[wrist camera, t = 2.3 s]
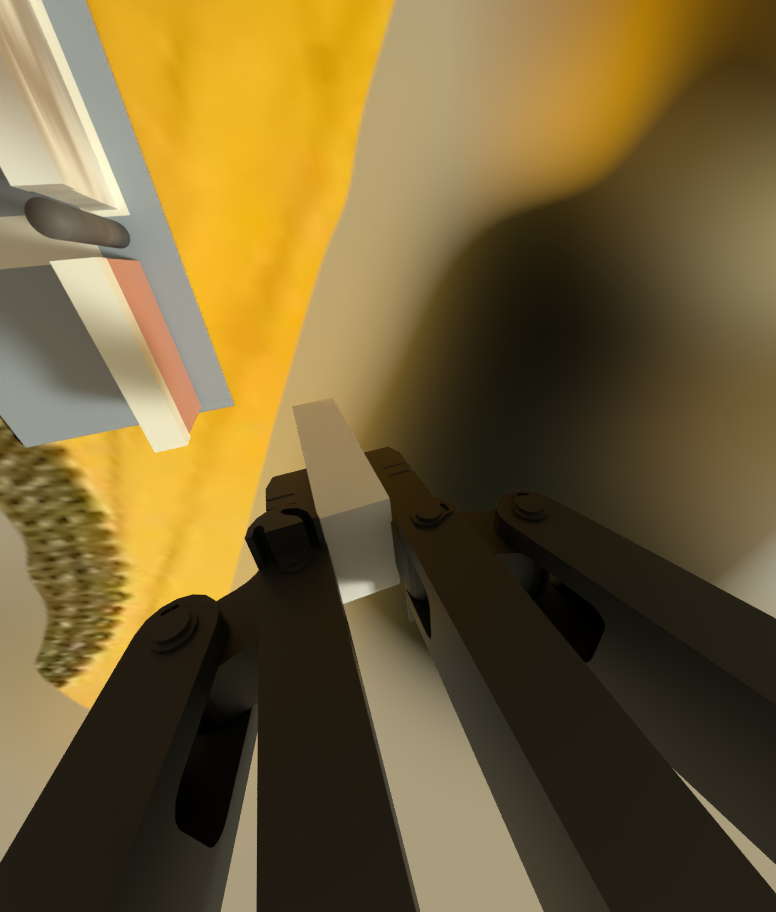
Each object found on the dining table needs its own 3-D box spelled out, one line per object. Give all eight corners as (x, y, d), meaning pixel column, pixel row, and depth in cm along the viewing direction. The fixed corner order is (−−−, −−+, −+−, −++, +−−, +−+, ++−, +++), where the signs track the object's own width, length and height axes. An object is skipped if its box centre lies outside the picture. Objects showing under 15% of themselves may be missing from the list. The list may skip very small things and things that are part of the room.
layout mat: (-392, -92, 10) (-409, -102, 10) (68, -48, 13) (64, -54, 12) (28, 445, 20) (25, 447, 20) (234, 404, 23) (234, 405, 22)
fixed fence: (-31, -42, 12) (-263, -290, 7) (18, -37, 12) (-165, -271, 7) (105, 249, 17) (33, 241, 11) (138, 247, 17) (83, 237, 12)
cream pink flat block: (110, 263, 17) (49, 261, 12) (142, 260, 17) (96, 256, 12) (179, 410, 21) (155, 452, 16) (203, 405, 22) (187, 445, 17)
